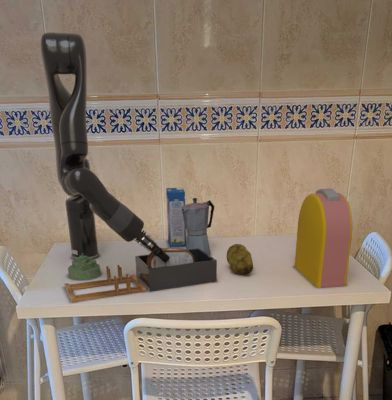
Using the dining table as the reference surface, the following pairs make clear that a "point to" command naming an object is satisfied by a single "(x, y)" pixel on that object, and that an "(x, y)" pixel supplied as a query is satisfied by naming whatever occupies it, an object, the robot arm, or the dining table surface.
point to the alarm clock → (324, 238)
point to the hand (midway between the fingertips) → (165, 258)
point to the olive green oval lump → (239, 259)
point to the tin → (175, 255)
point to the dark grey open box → (177, 272)
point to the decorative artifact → (84, 268)
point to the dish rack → (108, 281)
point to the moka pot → (197, 224)
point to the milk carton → (176, 217)
